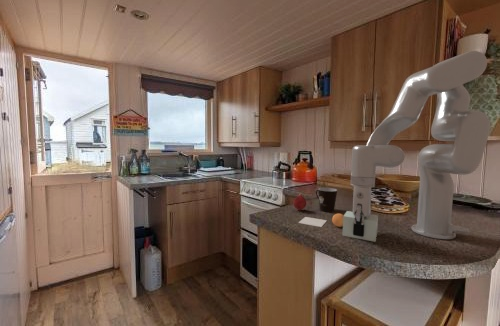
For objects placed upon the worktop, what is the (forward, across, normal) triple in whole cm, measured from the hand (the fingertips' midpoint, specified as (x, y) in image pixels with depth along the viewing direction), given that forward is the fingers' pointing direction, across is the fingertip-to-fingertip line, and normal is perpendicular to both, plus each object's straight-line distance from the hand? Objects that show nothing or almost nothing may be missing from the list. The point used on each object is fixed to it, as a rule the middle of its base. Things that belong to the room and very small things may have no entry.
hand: (359, 231), depth 84 cm
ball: (-1, +5, +8) cm, 9 cm away
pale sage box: (+1, 0, 0) cm, 1 cm away
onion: (+1, +18, +28) cm, 33 cm away
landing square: (+1, +5, +18) cm, 19 cm away
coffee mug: (+1, +27, +18) cm, 32 cm away
